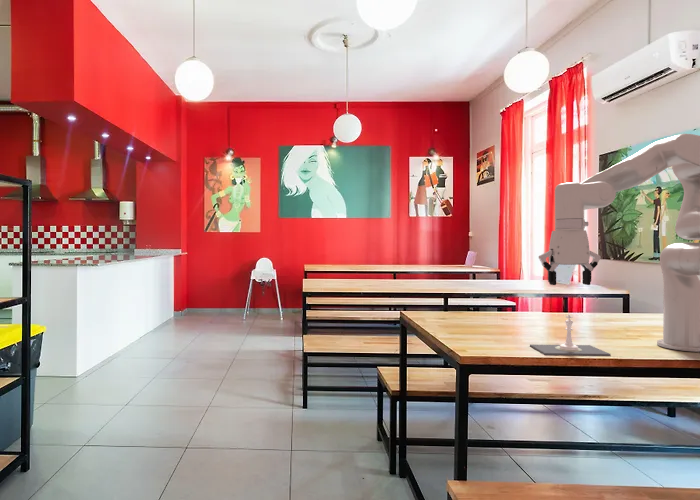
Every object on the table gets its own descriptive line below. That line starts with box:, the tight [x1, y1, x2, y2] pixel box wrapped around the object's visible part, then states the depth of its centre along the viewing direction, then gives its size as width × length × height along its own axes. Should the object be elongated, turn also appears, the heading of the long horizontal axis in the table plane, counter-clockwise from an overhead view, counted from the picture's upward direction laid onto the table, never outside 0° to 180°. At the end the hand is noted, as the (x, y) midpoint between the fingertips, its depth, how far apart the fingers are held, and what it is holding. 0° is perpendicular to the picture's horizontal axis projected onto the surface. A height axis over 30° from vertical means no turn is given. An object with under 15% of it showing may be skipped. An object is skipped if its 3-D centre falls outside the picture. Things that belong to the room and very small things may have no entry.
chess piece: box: [559, 313, 578, 350], centre depth 127 cm, size 5×5×10 cm
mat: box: [529, 343, 611, 357], centre depth 127 cm, size 18×11×1 cm, turn 88°
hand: (569, 284), depth 127 cm, fingers open, 9 cm apart
